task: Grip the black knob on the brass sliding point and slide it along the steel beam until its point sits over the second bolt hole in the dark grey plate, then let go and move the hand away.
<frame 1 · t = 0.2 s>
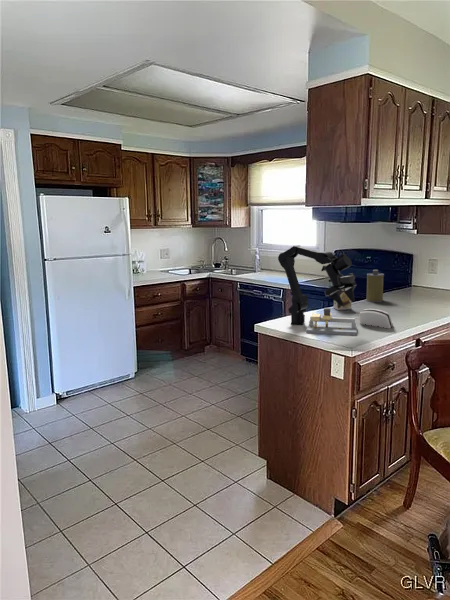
hand: (348, 304, 219), 15 cm above the countertop, tool tilted 30°, fingers open, 9 cm apart
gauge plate: (331, 330, 227), on the countertop
sliding point: (327, 317, 228), point 7 cm above the countertop, slide at 5.5 cm
coffee box: (342, 308, 275), on the countertop
canister: (374, 300, 294), on the countertop
white curved block: (375, 326, 234), on the countertop
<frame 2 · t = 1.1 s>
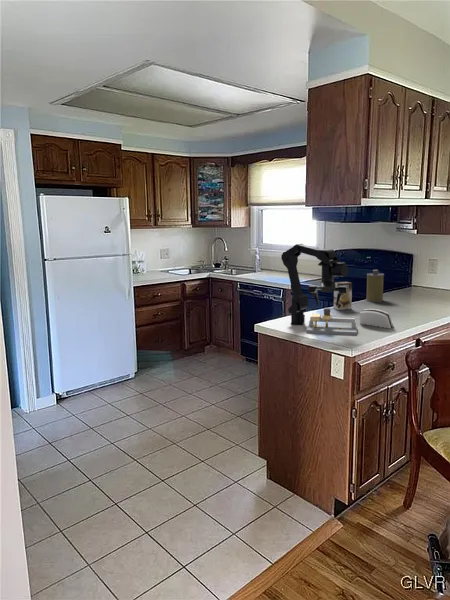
hand: (327, 305, 227), 13 cm above the countertop, tool pointing down, fingers open, 9 cm apart
nothing on the countertop moved.
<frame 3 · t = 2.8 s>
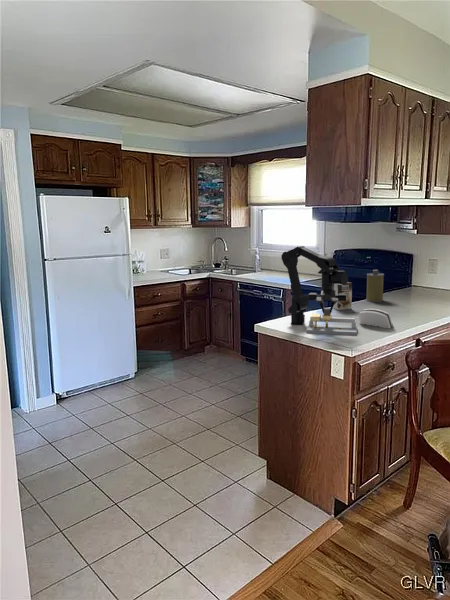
hand: (327, 313, 227), 9 cm above the countertop, tool pointing down, fingers closed on sliding point, 3 cm apart
sliding point: (327, 317, 228), point 7 cm above the countertop, slide at 5.5 cm, touching gripper
everything else where it was.
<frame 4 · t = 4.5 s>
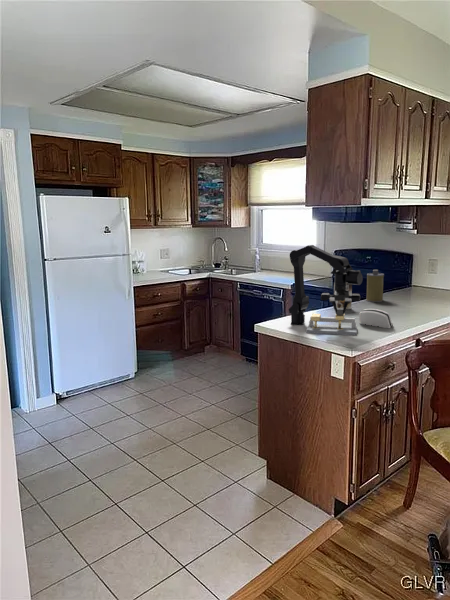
hand: (340, 314, 225), 9 cm above the countertop, tool pointing down, fingers closed on sliding point, 3 cm apart
sliding point: (340, 317, 226), point 7 cm above the countertop, slide at 11.8 cm, touching gripper
everything else where it was.
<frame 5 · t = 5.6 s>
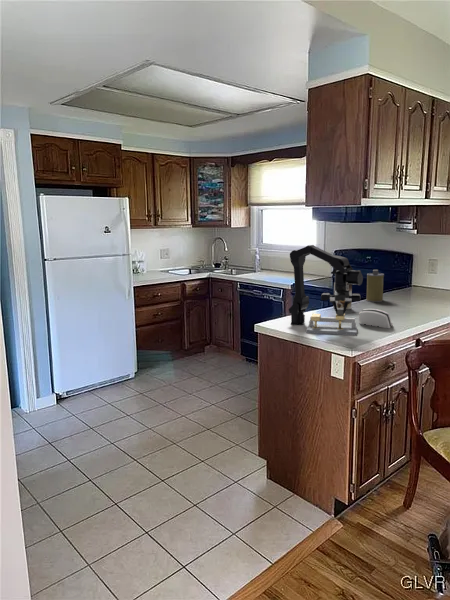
hand: (340, 314, 225), 9 cm above the countertop, tool pointing down, fingers closed on sliding point, 3 cm apart
sliding point: (340, 317, 226), point 7 cm above the countertop, slide at 11.9 cm, touching gripper
everything else where it was.
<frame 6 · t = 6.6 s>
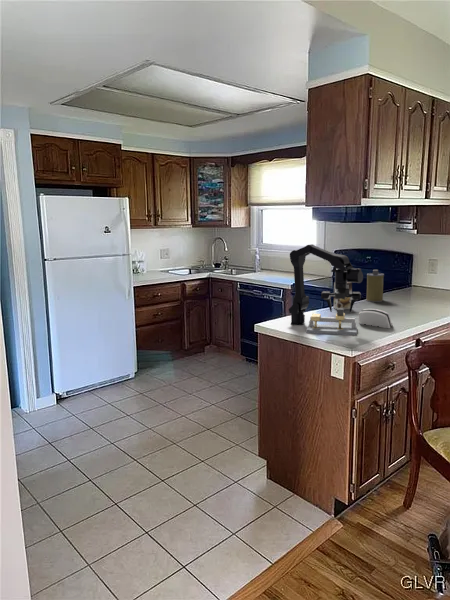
hand: (340, 312, 225), 9 cm above the countertop, tool pointing down, fingers open, 9 cm apart
sliding point: (340, 317, 226), point 7 cm above the countertop, slide at 11.9 cm
everything else where it was.
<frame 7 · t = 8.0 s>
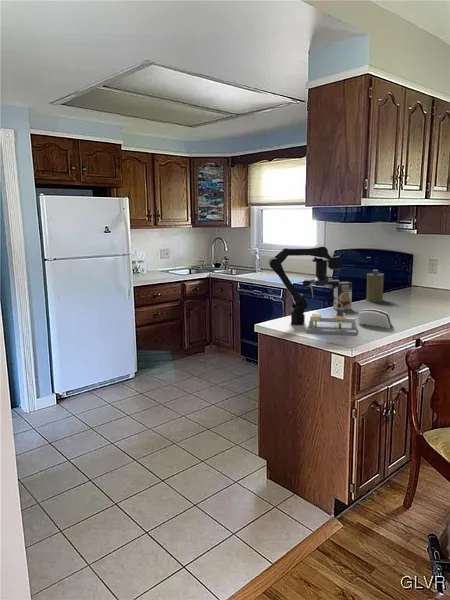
hand: (321, 298, 241), 13 cm above the countertop, tool pointing down, fingers open, 9 cm apart
nothing on the countertop moved.
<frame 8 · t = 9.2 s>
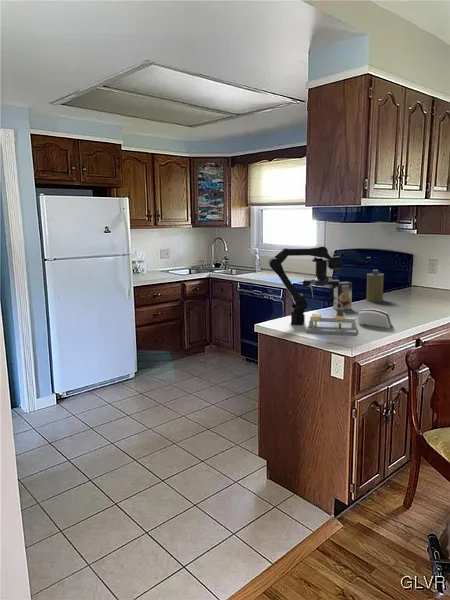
hand: (321, 298, 242), 13 cm above the countertop, tool pointing down, fingers open, 9 cm apart
nothing on the countertop moved.
at the end: sliding point slide at 11.9 cm; the gripper is holding nothing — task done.
